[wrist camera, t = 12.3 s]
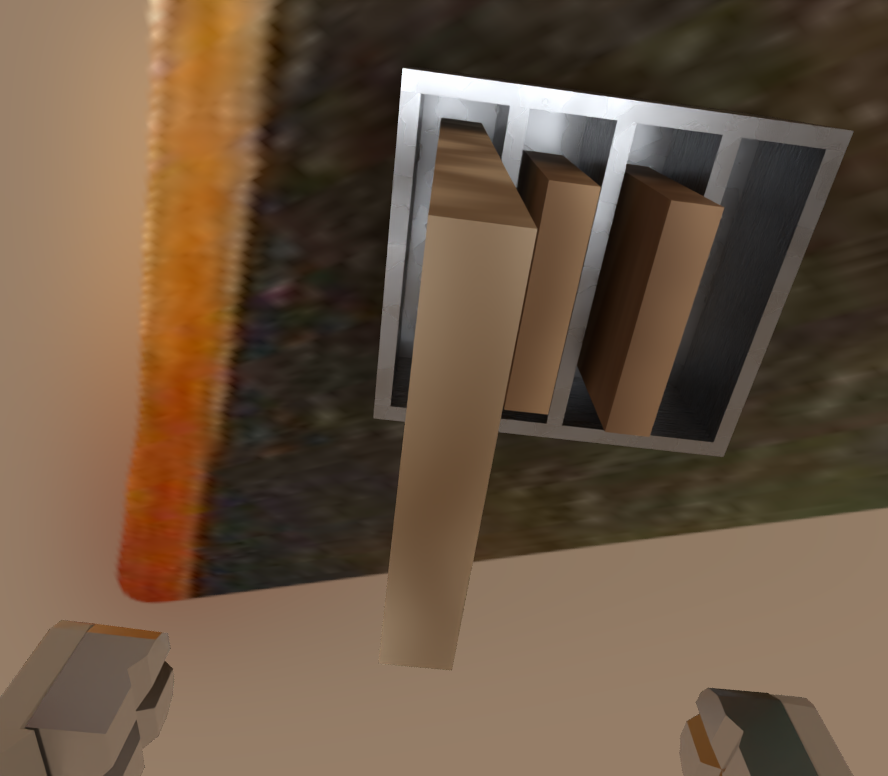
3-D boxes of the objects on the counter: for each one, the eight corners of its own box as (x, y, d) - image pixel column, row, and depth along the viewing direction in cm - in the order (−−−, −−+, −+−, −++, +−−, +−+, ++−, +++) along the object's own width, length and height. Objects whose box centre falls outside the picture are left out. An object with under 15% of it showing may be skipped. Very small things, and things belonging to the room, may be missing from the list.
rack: (769, 116, 32) (853, 131, 25) (677, 390, 39) (723, 456, 33) (412, 66, 31) (402, 67, 24) (386, 356, 38) (373, 418, 32)
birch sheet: (481, 122, 31) (537, 228, 11) (450, 343, 36) (452, 670, 17) (441, 117, 31) (428, 215, 11) (416, 340, 36) (377, 663, 17)
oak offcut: (562, 155, 32) (601, 186, 24) (526, 336, 36) (547, 414, 28) (523, 149, 31) (548, 180, 23) (491, 332, 36) (504, 409, 28)
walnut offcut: (647, 166, 32) (724, 207, 23) (600, 345, 36) (649, 436, 28) (609, 161, 32) (671, 200, 23) (566, 341, 36) (604, 432, 27)
